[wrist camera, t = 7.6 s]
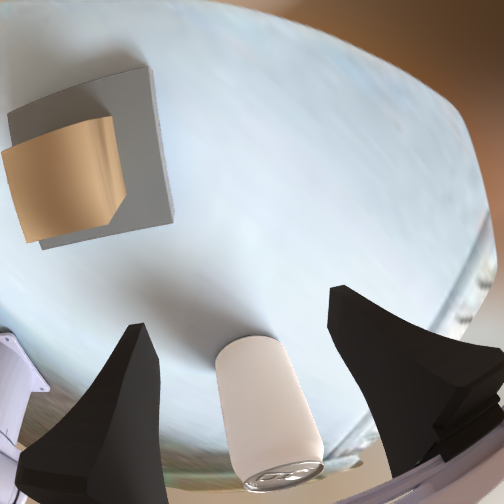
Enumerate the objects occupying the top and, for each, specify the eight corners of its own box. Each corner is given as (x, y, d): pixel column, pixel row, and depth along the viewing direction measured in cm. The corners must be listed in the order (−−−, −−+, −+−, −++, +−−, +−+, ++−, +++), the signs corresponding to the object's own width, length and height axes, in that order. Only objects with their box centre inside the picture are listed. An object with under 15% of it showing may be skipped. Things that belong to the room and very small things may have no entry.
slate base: (52, 237, 18) (42, 250, 16) (22, 111, 14) (7, 113, 12) (174, 211, 19) (173, 223, 17) (152, 70, 15) (148, 66, 13)
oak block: (59, 210, 15) (26, 243, 11) (41, 137, 13) (1, 151, 9) (126, 194, 16) (108, 224, 12) (112, 115, 14) (85, 120, 10)
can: (267, 384, 29) (300, 490, 18) (204, 376, 26) (222, 496, 16) (297, 338, 26) (350, 454, 16) (229, 325, 24) (261, 462, 14)
